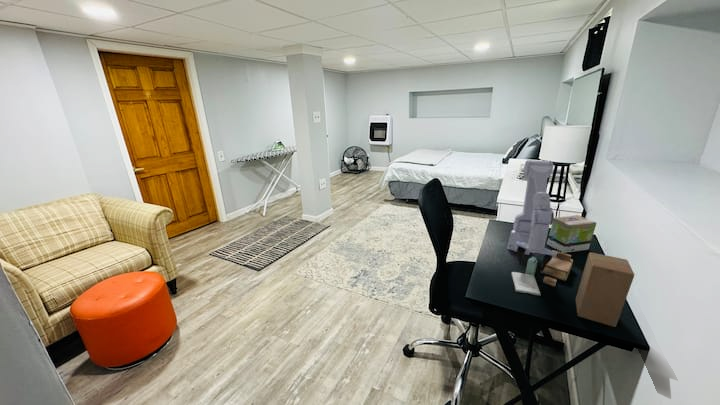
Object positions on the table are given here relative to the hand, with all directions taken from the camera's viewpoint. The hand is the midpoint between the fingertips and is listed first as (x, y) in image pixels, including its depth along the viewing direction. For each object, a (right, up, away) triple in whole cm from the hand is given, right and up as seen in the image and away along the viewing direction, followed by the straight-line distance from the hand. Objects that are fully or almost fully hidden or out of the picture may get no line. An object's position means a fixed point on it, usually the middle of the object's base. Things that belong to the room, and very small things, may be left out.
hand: (531, 266), depth 119 cm
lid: (+12, +1, +1) cm, 12 cm away
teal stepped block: (0, -3, +1) cm, 3 cm away
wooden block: (+8, -11, -22) cm, 26 cm away
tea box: (+30, +5, +21) cm, 37 cm away
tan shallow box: (+9, -3, 0) cm, 10 cm away
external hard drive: (-6, -6, -6) cm, 10 cm away
